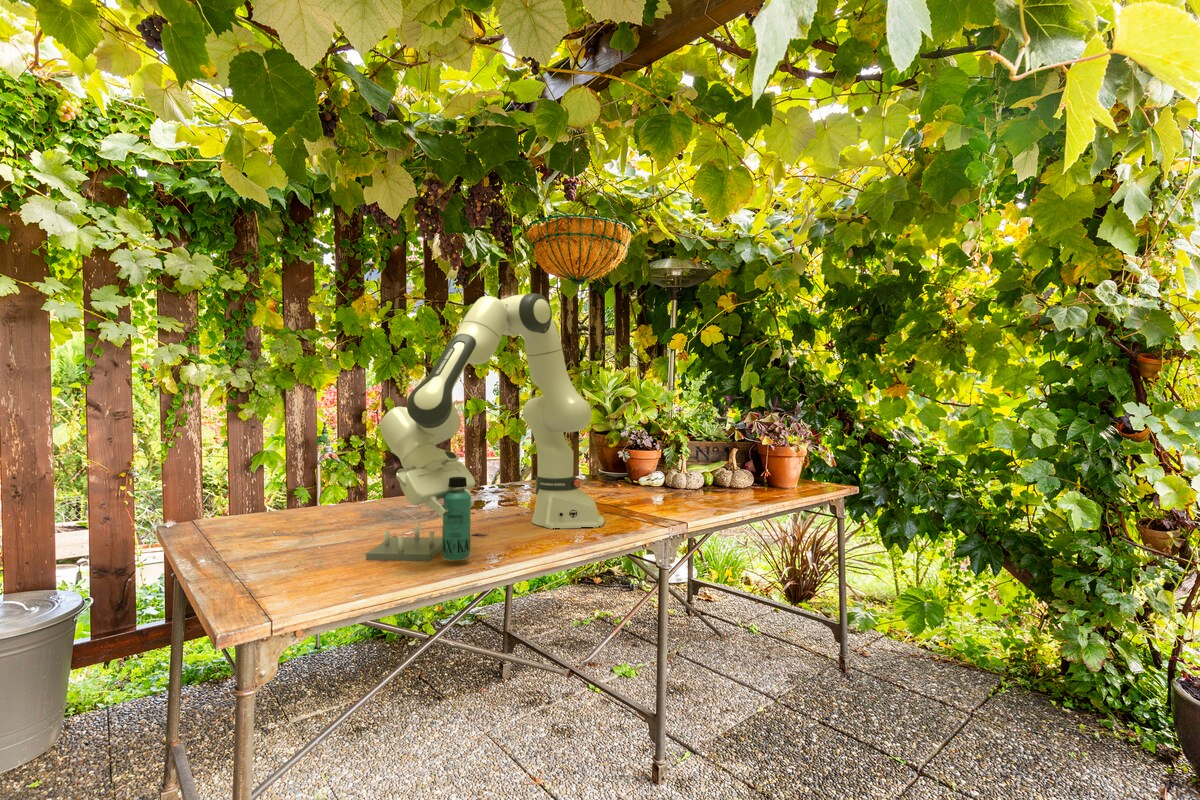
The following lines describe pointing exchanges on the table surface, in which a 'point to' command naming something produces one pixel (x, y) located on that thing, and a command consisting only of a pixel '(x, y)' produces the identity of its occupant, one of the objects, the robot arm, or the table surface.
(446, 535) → the beverage bottle
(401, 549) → the pin plate
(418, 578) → the table surface
